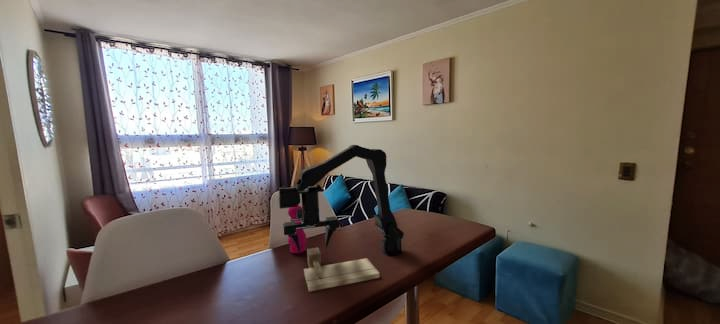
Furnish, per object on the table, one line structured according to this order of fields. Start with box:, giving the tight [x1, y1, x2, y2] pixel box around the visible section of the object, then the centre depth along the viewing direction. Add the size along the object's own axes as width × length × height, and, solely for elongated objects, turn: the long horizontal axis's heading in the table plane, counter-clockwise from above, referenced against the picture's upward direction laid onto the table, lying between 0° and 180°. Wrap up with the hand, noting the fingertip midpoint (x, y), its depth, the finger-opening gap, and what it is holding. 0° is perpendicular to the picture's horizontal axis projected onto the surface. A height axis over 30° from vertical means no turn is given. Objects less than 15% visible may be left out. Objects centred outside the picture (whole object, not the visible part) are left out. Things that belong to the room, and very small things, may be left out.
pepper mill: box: [287, 204, 308, 254], centre depth 113 cm, size 7×7×20 cm
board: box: [303, 257, 381, 293], centre depth 92 cm, size 22×12×2 cm, turn 108°
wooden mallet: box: [306, 247, 323, 278], centre depth 94 cm, size 4×16×6 cm, turn 17°
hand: (312, 249), depth 99 cm, fingers open, 9 cm apart
